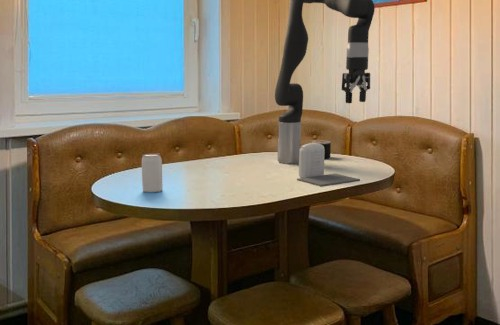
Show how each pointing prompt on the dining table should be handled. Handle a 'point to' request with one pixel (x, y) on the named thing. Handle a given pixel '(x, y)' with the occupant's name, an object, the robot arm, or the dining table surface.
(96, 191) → the dining table surface
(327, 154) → the sushi
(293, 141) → the robot arm
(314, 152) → the photo printer
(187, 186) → the dining table surface
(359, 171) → the dining table surface
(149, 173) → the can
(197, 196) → the dining table surface
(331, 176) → the mat
